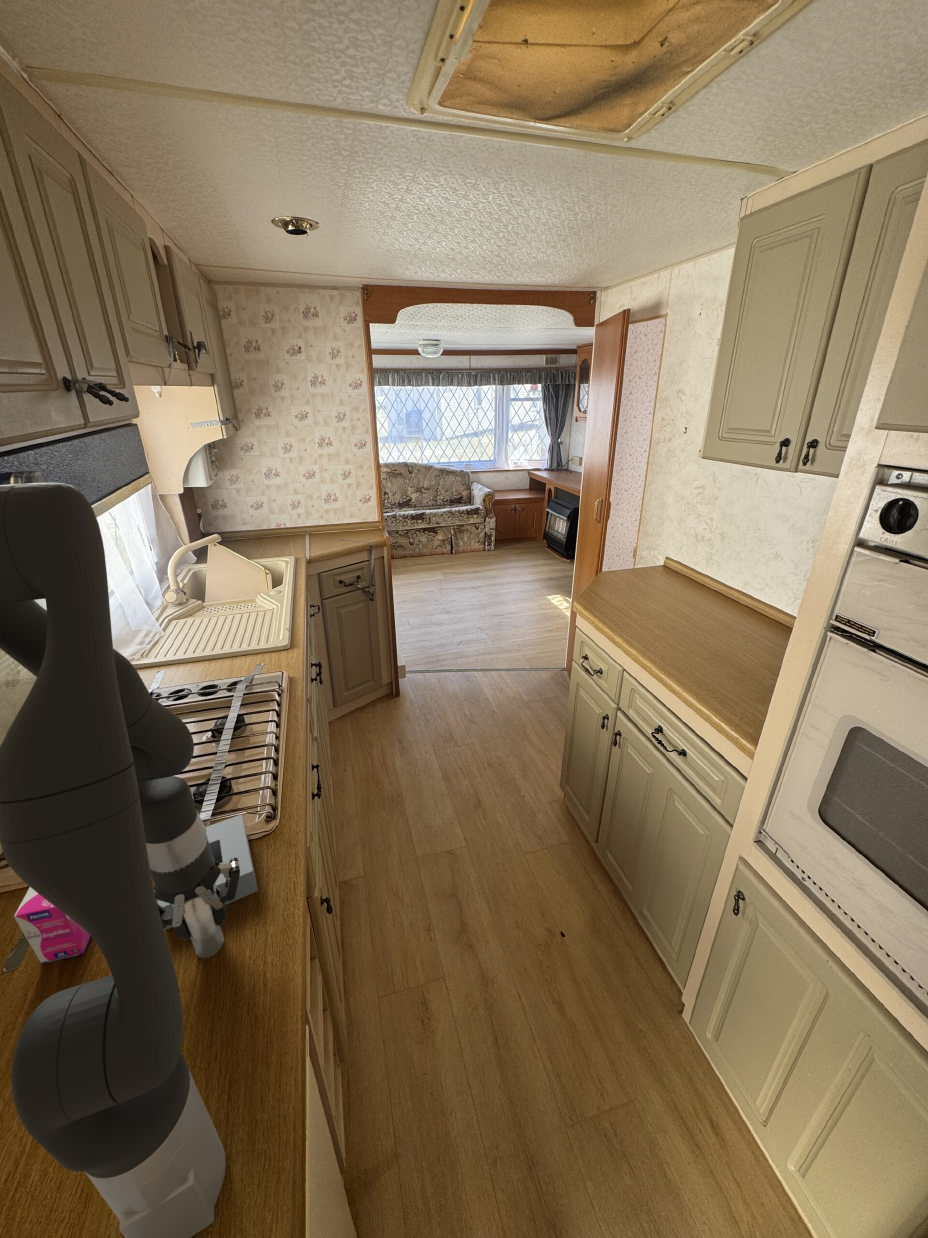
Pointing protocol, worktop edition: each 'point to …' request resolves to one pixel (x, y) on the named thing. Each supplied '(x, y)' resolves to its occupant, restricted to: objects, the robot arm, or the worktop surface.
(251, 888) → the bore block
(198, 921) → the pin
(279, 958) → the worktop surface
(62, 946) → the supplement box
